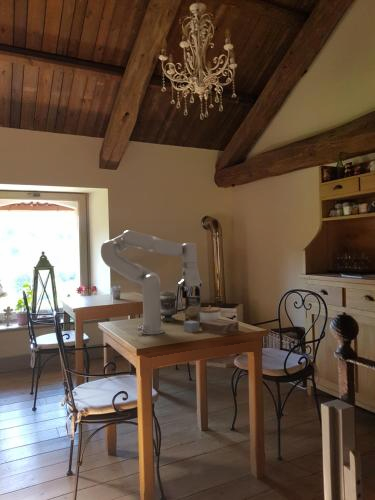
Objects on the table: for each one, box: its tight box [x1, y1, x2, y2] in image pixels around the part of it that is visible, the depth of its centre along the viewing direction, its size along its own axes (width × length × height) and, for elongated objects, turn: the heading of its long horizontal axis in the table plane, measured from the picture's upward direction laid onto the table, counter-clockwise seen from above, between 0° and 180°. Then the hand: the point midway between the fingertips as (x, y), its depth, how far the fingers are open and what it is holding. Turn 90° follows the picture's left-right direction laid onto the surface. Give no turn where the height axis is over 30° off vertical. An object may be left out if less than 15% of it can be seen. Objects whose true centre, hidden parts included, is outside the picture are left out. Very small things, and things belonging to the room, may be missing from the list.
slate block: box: [183, 321, 200, 333], centre depth 210 cm, size 6×6×5 cm
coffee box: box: [184, 295, 202, 325], centre depth 231 cm, size 9×6×16 cm
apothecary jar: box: [160, 290, 178, 322], centre depth 242 cm, size 12×12×18 cm
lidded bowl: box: [199, 305, 221, 323], centre depth 226 cm, size 13×13×11 cm
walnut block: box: [201, 318, 240, 336], centre depth 209 cm, size 14×14×5 cm
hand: (191, 296), depth 210 cm, fingers open, 9 cm apart
